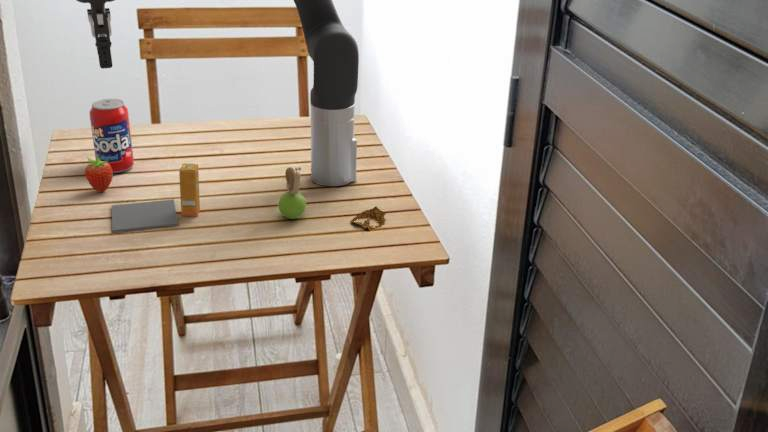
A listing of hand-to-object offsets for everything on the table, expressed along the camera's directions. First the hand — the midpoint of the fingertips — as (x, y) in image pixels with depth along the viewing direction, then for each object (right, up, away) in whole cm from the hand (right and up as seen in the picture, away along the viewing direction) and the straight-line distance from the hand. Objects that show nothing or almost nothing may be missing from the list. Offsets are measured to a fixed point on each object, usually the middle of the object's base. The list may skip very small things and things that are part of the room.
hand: (105, 61), depth 157 cm
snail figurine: (+35, -30, +8) cm, 46 cm away
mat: (+6, -29, +6) cm, 30 cm away
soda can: (-7, -19, +27) cm, 33 cm away
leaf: (+49, -31, +7) cm, 59 cm away
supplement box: (+14, -29, +8) cm, 33 cm away
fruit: (-6, -24, +16) cm, 30 cm away
